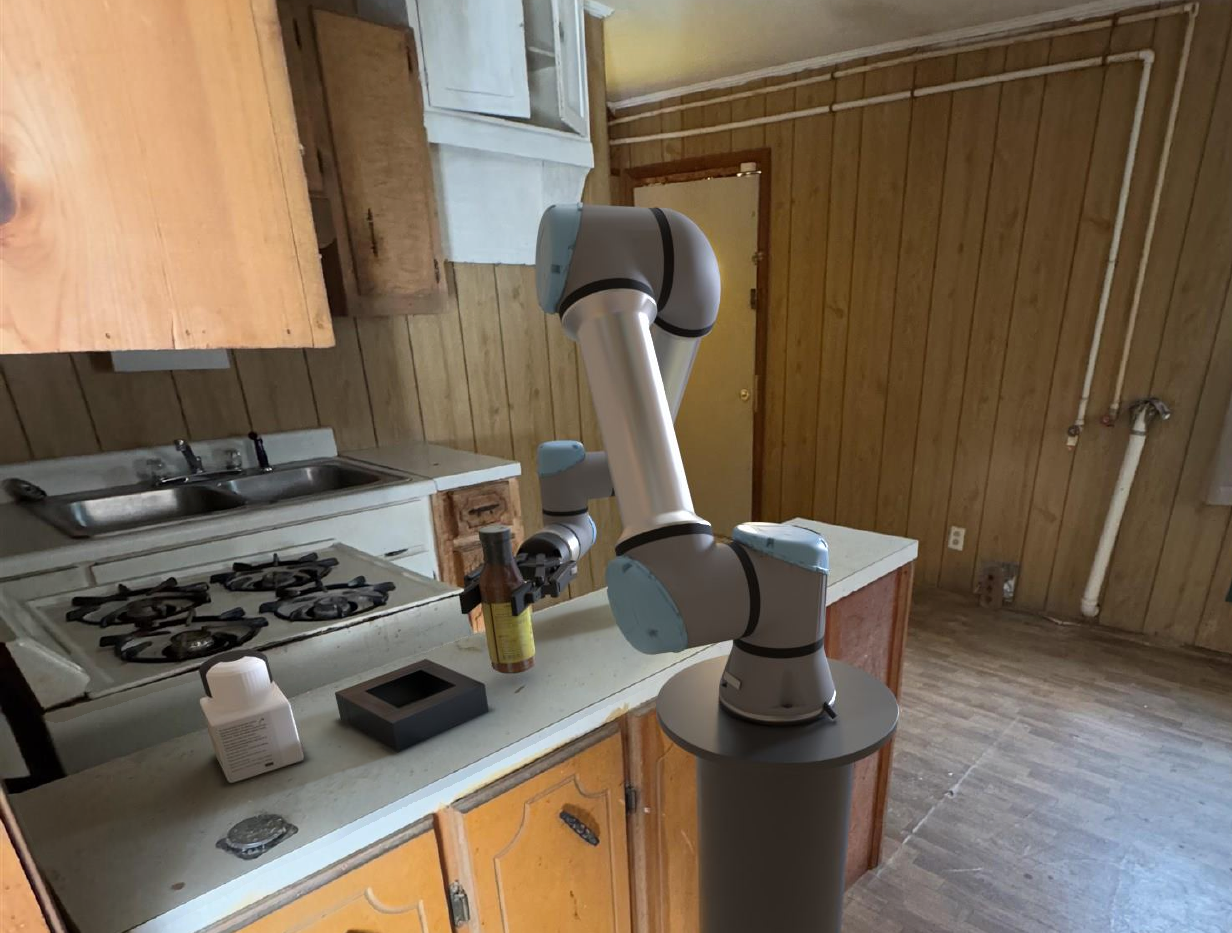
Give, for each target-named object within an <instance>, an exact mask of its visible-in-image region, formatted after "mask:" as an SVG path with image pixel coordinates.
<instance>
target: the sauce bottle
mask: <svg viewBox="0 0 1232 933" xmlns="http://www.w3.org/2000/svg"><path fill="white" fill-rule="evenodd" d="M477 532H478V539H479V541H480V542H481V548H482V554H483V558H482V560H483V564H484V566H483V570H482V572H481V574H480V577H479V588H480V595H481V603H480V605H481V612H482V617H483V623H484V631H485V637H486V644H487V649H488V656H489V660H490V661H491V662H490V663H491V667H492V670H494V671H496V672H498V673H501V674H505V675H506V674H507V675H509V674H510V675H512V674H513V675H515V674H519V673H523V672H526V671H528V670H530V669H531V668H533V667H535V665H536V646H535V640H534V632H533V624H532V616H531V610H530V609H531V607H530V605H529V606H528V607H527V608H526V609H525V610H524V611H523V612H522V613H521V614H520V615H519V616H518V617H516V616H512V609H511V601H510V596H511V595H512V594H514V593H515V592H516V591H517V590H518V589H519V588H520V587H522V586H523V585H524V584H525V583H526V581H524V579H523V577H522V575H521V573H520V571H519V569H518V567H517V564H516V562H515V560H514V558H513V557H514V554H513V551H512V550H513V548H512V542H511V540H512V533H511V528H510V527H509V526H508V525H504V524H495V525H493V524H492V525H487V526H483V527H480V528H479V529H478V531H477Z"/></svg>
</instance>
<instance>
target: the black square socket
mask: <svg viewBox="0 0 1232 933" xmlns="http://www.w3.org/2000/svg"><path fill="white" fill-rule="evenodd" d="M334 696H335V700H336V705H337V710H338V713H339V718H340V721H341V722H343V723H344V724H347V725H348V726H350V727H351V728H353V729H356V730H357V731H359V732H361V733H362V734H365V735H366V736H368V737H370V738H371V739H373V740H375V741H377V742H378V743H380V744H382V745H384V746H386V747H387V748H389V749H390V750H393V751H394V752H395V753H401V752H402V751H405V750H407V749H409V748H412V747H413V746H416V745H418V744H421V743H422V742H424V741H426V740H429V739H431V738H433V737H436V736H438V735H440V734H442V733H444V732H447V731H449V730H451V729H454V728H455V727H457V726H460V725H462V724H464V723H467V722H469V721H471V720H473V719H475V718H477V717H479V716H481V715H483V714H486V713H488V712H489V704H488V698H487V689H486V684H485V683H484V682H482V681H479V680H477V679H475V678H472V677H469V676H467V675H465V674H463V673H461V672H458V671H457V670H456V671H455V670H454V669H451V668H449V667H446V666H444V665H442V664H439V663H438V662H434V661H432V660H430V659H427V658H424V659H421V660H419V661H416V662H413V663H410V664H408V665H405V666H403V667H399V668H398V669H394V670H391V671H389V672H387V673H383V674H381V675H378V676H375V677H373V678H371V679H368V680H365V681H362V682H359V683H356V684H353V685H351V686H348V687H346V688H343V689H340V690H337V691H335V692H334ZM423 697H426V698H423ZM421 698H423V699H421ZM418 699H421V700H418ZM415 700H416V702H413V701H415ZM417 700H418V701H417ZM412 702H413V703H412ZM409 703H411V704H409ZM406 704H409V705H406ZM404 705H406V706H404ZM401 706H403V707H402V708H399V707H401Z"/></svg>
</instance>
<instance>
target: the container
mask: <svg viewBox="0 0 1232 933" xmlns="http://www.w3.org/2000/svg"><path fill="white" fill-rule="evenodd" d="M198 673H199V677H200V679H201V683H202V686H203V689H204V693H205V696H206V697H201V698H200V699H199V705H200V708H201V711H202V715H203V718H204V721H205V724H206V727H207V731H208V734H209V737H210V741H211V744H212V747H213V750H214V753H215V756H216V758H217V761H218V762H219V765H220V767H221V769H222V771H223V774H224V776H225V777H226V779H227V781H228V783H230V784H234V783H236V782H240V781H243V780H246V779H249V778H252V777H255V776H259V775H262V774H264V773H268V772H271V771H275V770H277V769H278V770H279V769H281V768H284V767H287V766H291V765H293V764H295V763H299V762H302V761H303V760H304V757H305V756H304V753H303V749H302V745H301V741H300V736H299V734H298V733H299V732H298V730H297V729H298V728H297V725H296V721H295V717H294V714H293V710H292V707H291V703H290V701H289V700H288V699H287V697H286V696H285V695H284V693H283V692H282V689H280V688H279V686H278V685H277V683H276V682H275V681H274V679H273V675H272V671H271V666H270V663H269V659H268V657H267V655H266V654H264V653H263V652H261V651H259V650H254V649H253V650H252V649H235V650H229V651H224V652H221V653H219V654H216V655H214V656H212V657H210V658H208V659H207V660H205V661H204V662H202V664H201V665H200V667H199V668H198Z"/></svg>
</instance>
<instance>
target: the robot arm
mask: <svg viewBox="0 0 1232 933" xmlns="http://www.w3.org/2000/svg"><path fill="white" fill-rule="evenodd" d="M535 243H536V244H535V255H534V256H535V257H534V258H535V259H534V260H535V261H534V266H535V267H534V276H535V277H534V278H535V290H536V296H537V302H538V305H539V307H540V308H541V311H543V312H544V313H546V314H549V315H551V316H555V315H556V314H558V316H559V320H560V324H561V328H562V332H563V333H564V335H565V336H566V337H567V338H568V339H570V340H571V341H573V342H575V343H577V344H578V345H579V349H580V353H581V357H582V361H583V362H582V363H583V366H584V371H585V375H586V379H587V383H588V387H589V392H590V396H591V400H592V403H593V404H592V405H593V409H594V412H595V416H596V420H597V425H598V429H599V433H600V437H601V441H602V445H603V450H601V451H600V450H599V451H585V447H584V445H583V443H581V442H580V441H577V440H550V441H546V442H543V443H541V444H540V445H539V446H538V447H537V452H536V454H537V455H536V461H537V474H536V475H537V477H538V486H539V494H540V502H541V503H540V504H541V510H542V511H541V516H542V524H543V525H542V526H543V527H542V528H540V529H539V530H537V531H536V532H535V533H534V534H532V535H531V536H530V537H529V538H527V539H526V540H524V541H523V542H522V543H521V545H520V546H519V548H518V550H517V552H516V554H515V556H513V558H514V560H515V562H516V564H517V567H518V569H519V571H520V573H521V575H522V577H523V579H524V582H525V584H524V585H523V586H522V587H520V588H519V589H518V590H517V591H516V592H515V593H514V594H512V595H511V596H510V601H511V609H512V616H516V617H518V616H519V615H520V614H521V613H522V612H523V611H524V610H525V609H526V608H527V607H528V606H529V607H530V606H531V605H532V604H536V603H537V602H539V600H543V599H545V598H546V596H550V598H552V599H553V598H554V599H557V598H559V597H561V595H562V594H563V592H564V591H565V590H566V588H567V587H568V585H569V584H570V583H571V581H573V580H575V579H577V578H578V577H579V575H578V564H577V563H578V562H577V561H579V560H580V559H581V558H582V557H583V556H586V554H587V553H589V552H590V550H591V547H593V545H594V544H595V542H596V538H597V527H596V523H595V521H594V520H593V519H592V517H591V516H590V514H589V505H588V504H589V500H596V499H604V498H614V497H615V501H616V505H617V508H618V513H619V517H620V521H621V525H622V533H621V535H620V537H619V538H618V539H617V541H616V543H615V544H614V552H615V557H614V558H613V559H611V560H610V561H609V562H608V564H607V565H606V569H605V584H606V586H607V589H606V594H607V599H608V603H609V607H610V609H611V612H612V615H613V617H614V620H615V623H616V625H617V626H618V629H619V630H620V632H621V634H622V636H623V637H624V639H625V640H626V641H627V642H628V643H629V644H630V645H631V646H632V648H634V649H635V650H636V651H638V652H639V653H642V654H644V655H649V656H655V655H661V654H669V653H674V654H678V653H682V652H684V651H685V650H690V649H694V648H699V647H704V646H710V645H714V644H719V643H725V642H729V641H732V647H731V650H730V652H729V654H730V655H729V654H728V655H729V658H728V660H727V663H726V666H725V669H724V672H723V674H722V677H721V680H720V685H719V703H720V706H721V707H722V708H723V710H724V711H725V712H726V713H728V714H729V715H731V716H732V717H734V718H736V719H738V720H741V721H744V722H747V723H750V724H754V725H759V726H766V727H794V726H801V725H805V724H809V723H812V722H815V721H818V720H820V719H822V718H824V717H825V716H827V715H829V716H830V717H831V719H834V718H835V717H836V716H837V714H836V713H835V712H834V710H833V707H834V703H835V687H834V683H833V680H832V677H831V673H830V669H829V665H828V662H827V658H828V657H827V655H826V652H825V648H824V647H825V646H824V645H825V630H826V629H825V628H826V616H827V614H826V611H827V597H828V596H827V595H828V577H829V575H830V572H831V571H830V565H829V564H830V562H829V546H828V544H827V541H826V540H825V538H823V537H822V536H821V535H820V534H818V533H815V532H814V531H811V530H809V529H805V528H802V527H798V526H794V525H788V524H781V523H776V522H775V523H774V522H762V521H761V522H757V521H756V522H755V521H754V522H753V521H752V522H751V521H750V522H742V523H740V524H737V525H736V526H735V527H734V528H733V529H732V530H733V531H732V533H731V539H732V540H731V541H726V542H718V543H717V542H716V540H715V537H714V536H715V535H714V533H713V532H714V531H713V528H712V525H711V523H710V522H709V521H707V520H706V519H703V518H702V517H700V516H698V515H697V514H696V513H695V509H694V505H693V500H692V497H691V492H690V489H689V485H688V480H687V476H686V473H685V468H684V464H683V461H682V456H681V452H680V448H679V444H678V440H677V437H676V432H675V429H674V428H675V427H674V425H675V421H676V420H677V415H678V412H679V411H680V410H679V409H680V406H681V403H682V400H683V397H684V394H685V390H686V387H687V385H688V382H689V378H690V376H691V371H692V369H693V365H694V362H695V359H696V357H697V354H698V350H699V348H700V344H701V341H702V338H705V337H707V336H708V335H709V334H710V333H711V332H712V331H713V328H714V325H715V322H716V319H717V316H718V313H719V309H720V303H721V293H722V289H721V287H722V286H721V275H720V269H719V268H720V267H719V265H718V260H717V257H716V255H715V254H716V253H715V252H714V249H713V248H712V245H711V244H710V241H709V240H708V238H707V236H706V234H704V233H703V231H702V230H701V228H699V226H698V225H697V224H696V223H695V222H694V221H693V220H691V218H689V217H688V216H686V215H684V214H683V213H681V212H679V211H676V210H674V209H671V208H666V207H660V206H659V207H657V206H655V207H645V206H644V207H643V206H642V207H641V206H640V207H639V206H623V205H622V206H620V205H602V204H601V205H600V204H584V203H583V201H578V202H576V203H554V204H552V205H550V206H548V207H547V208H546V209H545V210H544V212H543V213H542V215H541V218H540V221H539V225H538V228H537V236H536V242H535ZM483 566H484V563H483V564H480V565H479V566H477V567H476V568H474V569H473V570H470V571H469V572H468V573H466V574H464V575H463V576H462V578H463V585H464V588H463V591H461V592H460V593H458V599H459V604H460V605H459V606H460V612H461V615H468V614H470V612H472V611H474V609H476V608H477V607H479V605H481V595H480V588H479V577H480V574H481V572H482V570H483ZM826 657H827V658H826Z"/></svg>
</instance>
